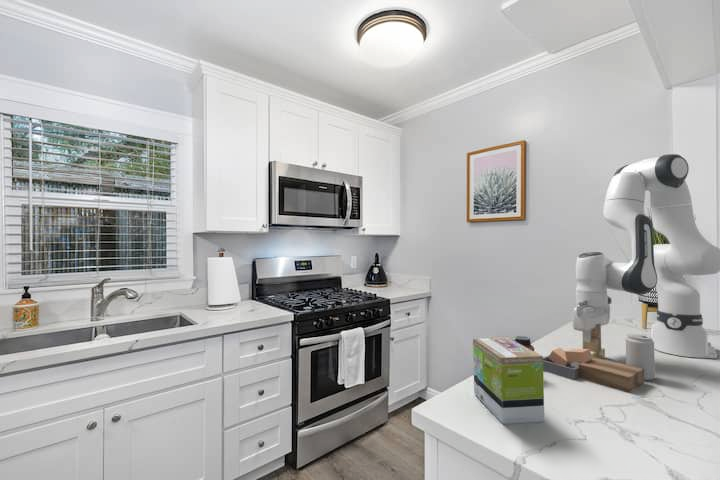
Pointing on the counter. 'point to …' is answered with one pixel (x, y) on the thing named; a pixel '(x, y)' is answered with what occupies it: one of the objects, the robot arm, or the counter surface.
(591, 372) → the board
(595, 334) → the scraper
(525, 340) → the supplement bottle
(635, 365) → the beverage can
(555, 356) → the peach square block
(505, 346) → the tea box
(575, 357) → the tile
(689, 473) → the counter surface
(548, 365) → the tray
